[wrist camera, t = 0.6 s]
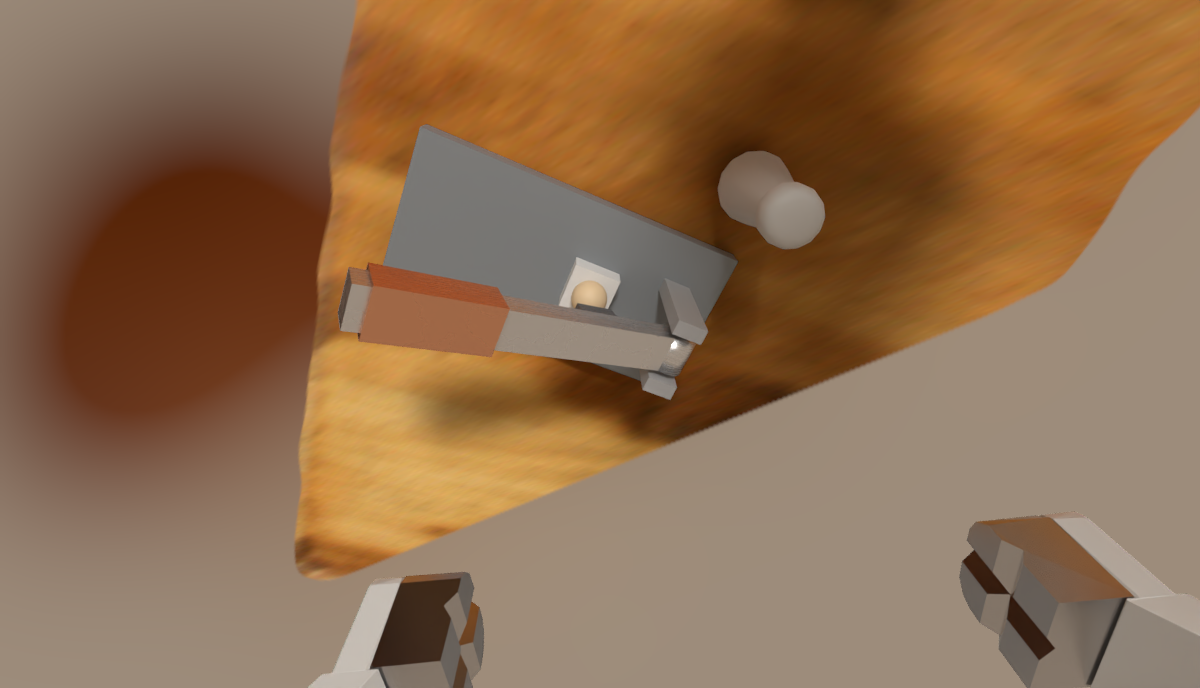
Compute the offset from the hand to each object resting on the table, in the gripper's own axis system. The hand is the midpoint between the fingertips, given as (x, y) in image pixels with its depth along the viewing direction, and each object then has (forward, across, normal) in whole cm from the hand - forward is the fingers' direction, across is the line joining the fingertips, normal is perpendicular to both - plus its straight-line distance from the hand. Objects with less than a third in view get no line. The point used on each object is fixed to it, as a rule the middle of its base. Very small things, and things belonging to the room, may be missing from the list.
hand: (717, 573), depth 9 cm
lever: (+31, +6, +7) cm, 32 cm away
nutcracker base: (+42, +5, +8) cm, 43 cm away
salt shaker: (+42, -11, +2) cm, 44 cm away
